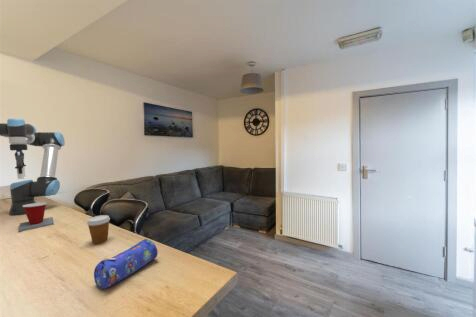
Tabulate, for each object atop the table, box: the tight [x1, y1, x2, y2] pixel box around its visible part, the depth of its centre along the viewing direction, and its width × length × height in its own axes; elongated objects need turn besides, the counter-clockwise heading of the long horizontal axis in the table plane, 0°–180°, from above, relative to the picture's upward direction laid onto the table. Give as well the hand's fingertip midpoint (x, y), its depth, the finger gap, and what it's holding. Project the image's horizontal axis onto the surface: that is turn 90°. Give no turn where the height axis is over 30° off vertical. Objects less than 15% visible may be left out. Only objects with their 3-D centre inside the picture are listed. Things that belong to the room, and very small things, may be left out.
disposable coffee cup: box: [86, 214, 111, 245], centre depth 103 cm, size 10×10×12 cm
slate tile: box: [18, 216, 55, 233], centre depth 128 cm, size 15×15×1 cm
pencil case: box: [93, 238, 159, 290], centre depth 78 cm, size 22×9×10 cm, turn 153°
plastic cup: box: [23, 202, 48, 225], centre depth 128 cm, size 11×11×12 cm
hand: (21, 177), depth 130 cm, fingers open, 13 cm apart
